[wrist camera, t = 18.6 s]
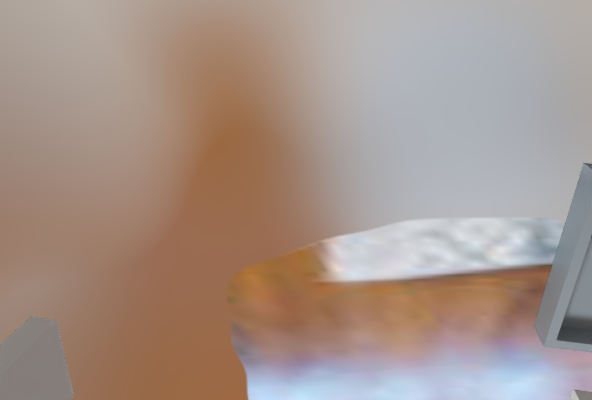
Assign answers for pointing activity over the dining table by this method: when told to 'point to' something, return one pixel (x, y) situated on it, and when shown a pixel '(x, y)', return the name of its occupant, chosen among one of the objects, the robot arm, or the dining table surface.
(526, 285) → the dining table surface
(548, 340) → the trough
